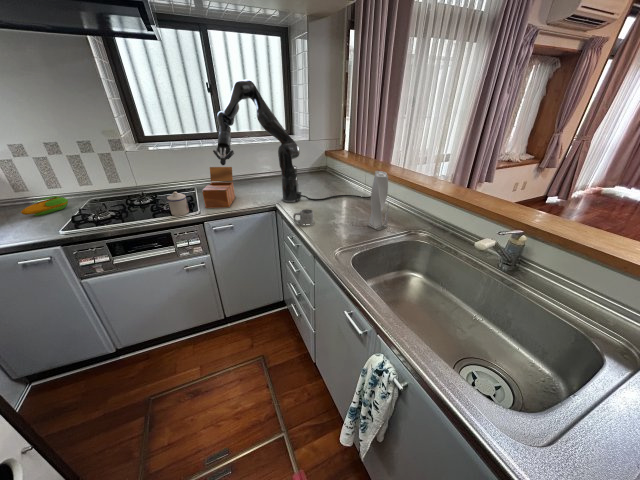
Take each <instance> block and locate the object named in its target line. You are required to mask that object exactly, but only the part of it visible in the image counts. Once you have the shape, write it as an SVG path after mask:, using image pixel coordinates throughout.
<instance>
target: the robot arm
mask: <svg viewBox="0 0 640 480" xmlns="http://www.w3.org/2000/svg"><path fill="white" fill-rule="evenodd" d="M249 99H250V100H251V101H252V103H253V104H254V106H255V108H256V118H257V122H258V123H259V124H260V126H261V127H262V128H263V130H264V131H265V132H266V133H267V134H268V135H270V136H272V137H274V138H275V139H276V140H277V141H278V142H279V143H280V145H279V146H278V148H277V155H278V165H279V168H280V173H281V174H280V175H281V191H282V201H283V202H285V203H297V202H298V201H299V200H301V199H302V197H303V198H305V199H307V200H310V201H324V200H325V201H326V200H328V199H332V198H338V197H355V198H360V199H371V195H370V196H362V197H361V195H355V194H337V195H333V196H332V195H331V196H327V197H323V198H311V197H308V196H307V195H303V194H302V191H299V183H298V167H297V166H296V165H294V164H293V160H295V159H297V158H299V157H300V148H299V146H298V144H297V142H296V141H295V140H294V139H293V138H292V136H290V134H289V133H288V132H287V131H286V129H285V128H284V126H283V125H282V124H281V123H280V121H279V120H278V118H277V117H276V115H275V114H274V112H273V111H272V110H271V108H270V107H269V106H268V104H267V103H266V101H265V100H264V98H263V97H262V95H261V93H260V91H259V90H258V88H257V86H256V85H255V83H254V82H253V81H252V80H251V79H241V80H237V81H236V82H234V84H233V87H232V89H231V93H230V96H229V100H228V102H227V104H226V105H225V107H224V109H223V110H220V111H218V112H217V115H216V120H217V123H218V135H217V147H216V150H215V149H213V150H212V152H213V154H214V156H215V157H216V158H217V159H218V160H219V163H220V165H221V166H225V165H226V163H227V160H230V159H231V158H232V156H233V155H235V151H234V150H233V149H232V148H231V143H232V137H231V136H232V134H231V133H232V129H231V127H232V126H233V125H234V123H235V118H236V115H237V114H238V112H239V110H240V102H241V101H242V100H249Z"/></svg>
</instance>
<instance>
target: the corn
mask: <svg viewBox="0 0 640 480" xmlns="http://www.w3.org/2000/svg"><path fill="white" fill-rule="evenodd" d="M68 205H69V199H68V198H66V197H64V196H59V195H53V196H48V197H47V196H46V197H43V198H40V199H37V200H35V201H32V202H31V205H27V206H26V207H25V208H23V209H22V210H21V212H20V214H22V215H24V216H28V215H33V217H40V216H45V215H49V214H51V213H55V212H58V211H61V210H64V209H65V208H66V207H67V206H68Z"/></svg>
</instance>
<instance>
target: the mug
mask: <svg viewBox="0 0 640 480" xmlns="http://www.w3.org/2000/svg"><path fill="white" fill-rule="evenodd" d="M314 213H315V212H314V209H310V208H303V209H300V211H299V212H295V213H293V215H292V216H293V217H292V219H293V222H294V223H298V224H299V225H300V226H301V227H304V228H305V227H306V228H308V227H312V226H314V215H315V214H314ZM296 216H299V219H296ZM312 223H313V224H312ZM303 224H305V225H303ZM306 224H310V225H306Z"/></svg>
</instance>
